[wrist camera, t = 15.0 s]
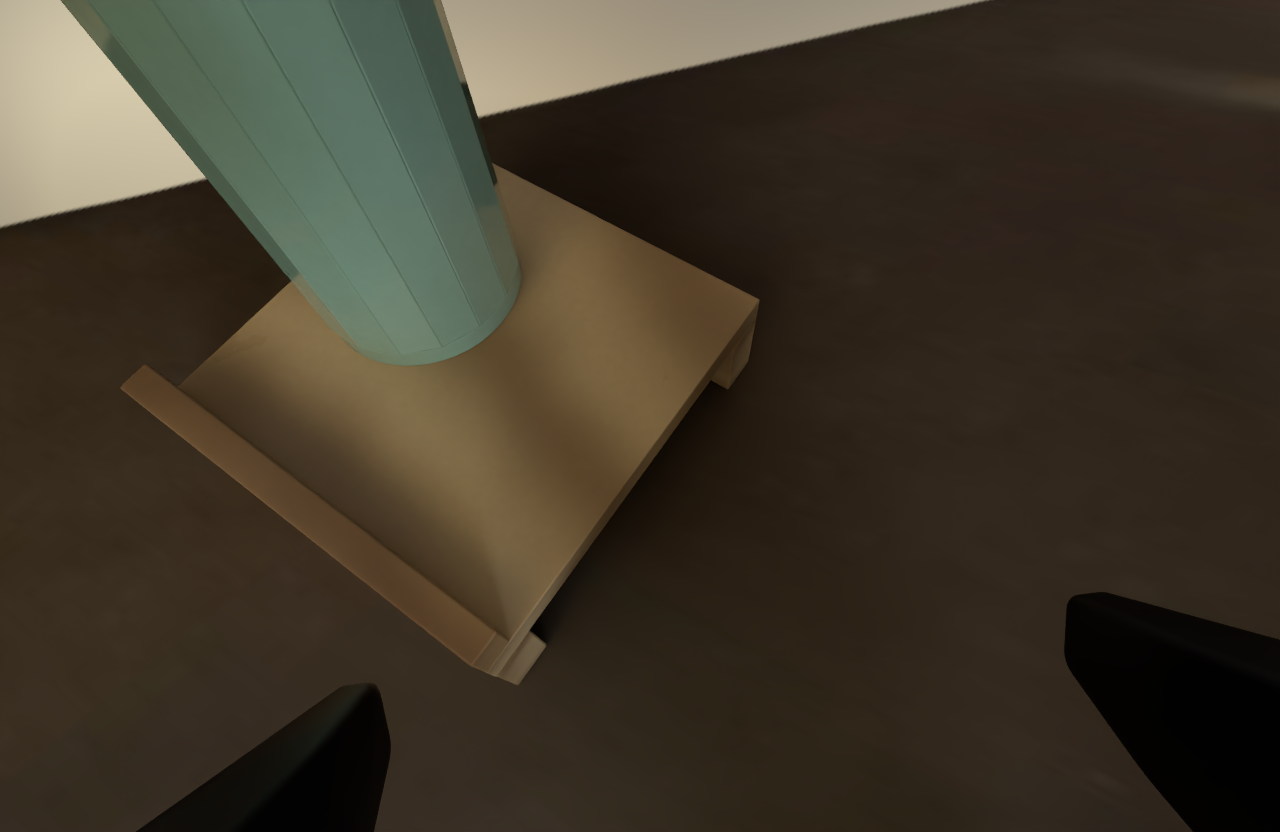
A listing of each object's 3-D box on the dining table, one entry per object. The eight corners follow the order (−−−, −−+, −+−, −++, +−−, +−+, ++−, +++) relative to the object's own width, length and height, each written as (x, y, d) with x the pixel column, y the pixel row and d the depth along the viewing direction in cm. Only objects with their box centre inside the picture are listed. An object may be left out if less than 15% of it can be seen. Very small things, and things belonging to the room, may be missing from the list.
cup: (432, 402, 21) (173, 32, 10) (286, 307, 23) (-65, -92, 12) (561, 257, 24) (461, -174, 13) (418, 181, 26) (223, -251, 15)
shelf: (518, 686, 21) (471, 667, 16) (226, 457, 25) (117, 386, 20) (748, 361, 26) (765, 270, 21) (471, 211, 30) (431, 105, 25)
